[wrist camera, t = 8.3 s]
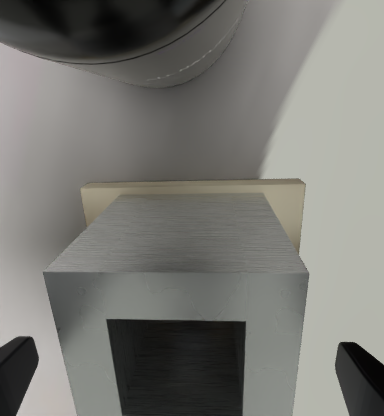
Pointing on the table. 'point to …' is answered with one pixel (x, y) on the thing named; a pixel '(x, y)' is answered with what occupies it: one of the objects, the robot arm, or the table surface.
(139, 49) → the supplement bottle
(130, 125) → the table surface
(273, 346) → the hollow square tube
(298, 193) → the shaft plate
